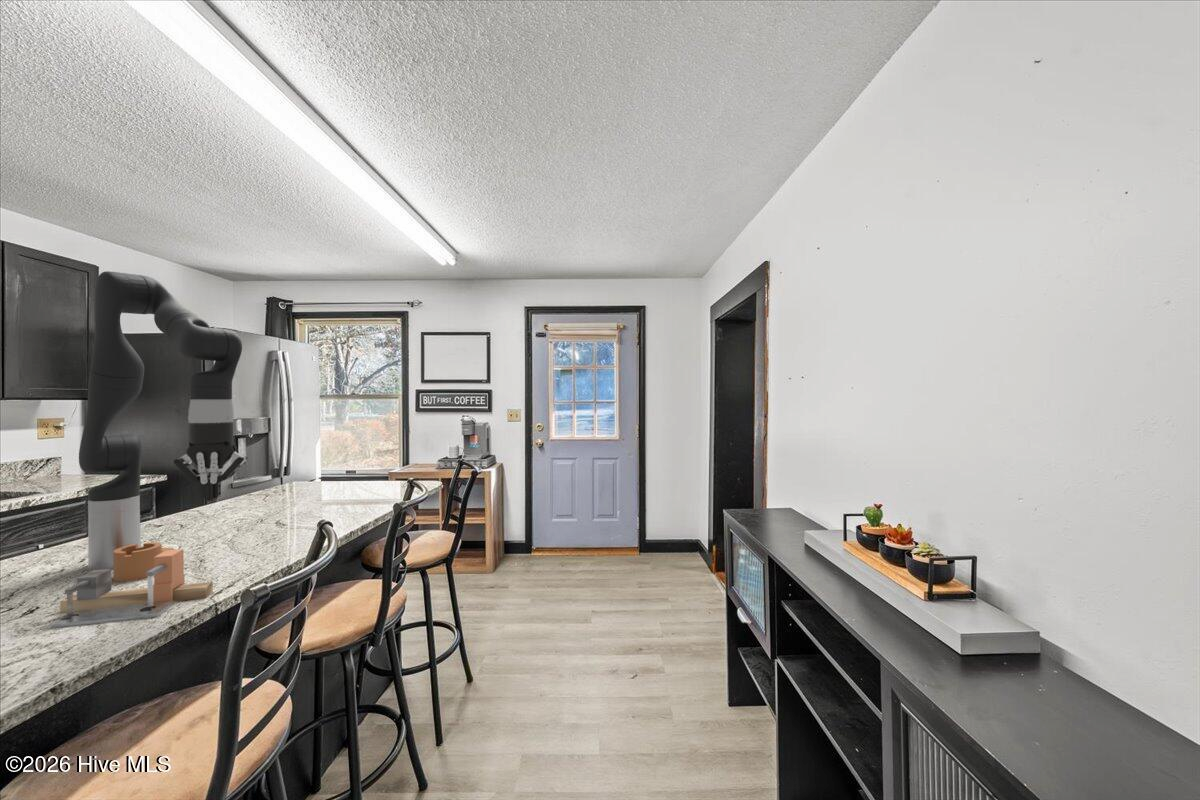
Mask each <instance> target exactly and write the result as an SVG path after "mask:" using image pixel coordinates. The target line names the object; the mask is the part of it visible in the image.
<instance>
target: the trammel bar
mask: <svg viewBox="0 0 1200 800" xmlns="http://www.w3.org/2000/svg"><path fill="white" fill-rule="evenodd" d="M213 585H214V583H213V581H209V582H197V583H196V582H195V583H187V584H186V583H185V585H179V586H177V587H176V588H174V589H173V601H175V602H179V601H187V600H188V599H189V600H196V599H197V598H199V599H206V598H208V597H209V596H210V595H212V594H213V592H214V591H213V590H214V586H213ZM75 592H76V594H74V593H75ZM64 595H66V598H64V599H62V600H60V601H59V602H60V603H59V605H60V606H59V607H60V609H59V610H60V611H59V612H60V613H64V612H66V616H67V615H72V614H73V612H74V611H79V610H89V609H98V608H108V607H118V606H128V605H137V604H147V603H148V587H145V588H134V589H133V588H132V589H125V590H124V589H122V590H113V591H112V569H104V570H90V571H89V572H87V573H85V574H82V575H81V576H78V577H76V584H74V585H72V586H70V587H68V588H66V589H64ZM207 596H208V597H207ZM197 600H198V599H197Z"/></svg>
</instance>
